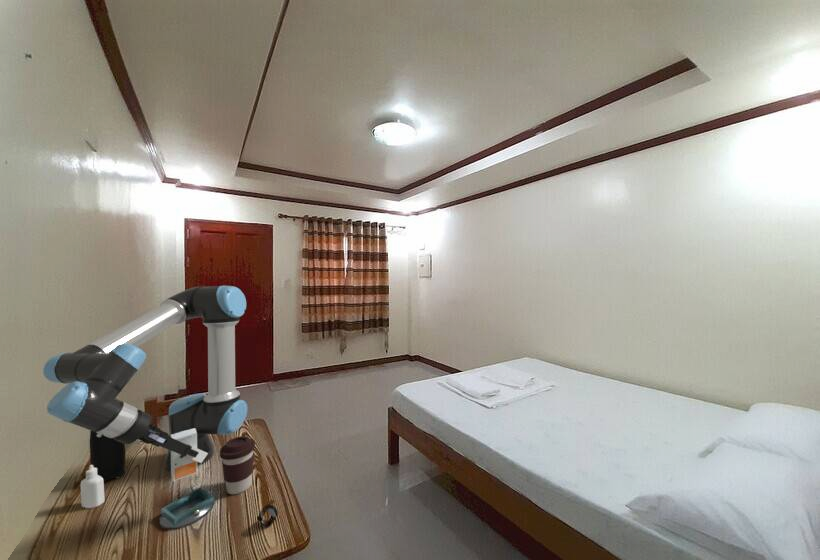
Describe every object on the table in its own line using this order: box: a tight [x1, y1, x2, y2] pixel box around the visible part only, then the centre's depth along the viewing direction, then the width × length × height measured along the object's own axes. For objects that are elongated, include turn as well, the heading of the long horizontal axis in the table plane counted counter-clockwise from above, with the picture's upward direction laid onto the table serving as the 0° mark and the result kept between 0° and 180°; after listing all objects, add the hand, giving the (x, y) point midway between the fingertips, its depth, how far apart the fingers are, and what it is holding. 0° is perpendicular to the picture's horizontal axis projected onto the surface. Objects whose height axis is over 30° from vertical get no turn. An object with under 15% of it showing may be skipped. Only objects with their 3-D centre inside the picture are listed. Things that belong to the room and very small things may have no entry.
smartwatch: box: [256, 503, 279, 528], centre depth 85 cm, size 4×5×5 cm
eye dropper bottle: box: [80, 464, 105, 509], centre depth 94 cm, size 4×6×12 cm
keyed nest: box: [159, 487, 216, 531], centre depth 91 cm, size 13×13×3 cm
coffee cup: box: [219, 435, 256, 495], centre depth 100 cm, size 10×10×15 cm
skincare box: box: [169, 428, 199, 483], centre depth 90 cm, size 6×4×12 cm
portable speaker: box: [89, 430, 126, 482], centre depth 107 cm, size 9×9×20 cm
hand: (198, 454), depth 93 cm, fingers closed on skincare box, 6 cm apart
